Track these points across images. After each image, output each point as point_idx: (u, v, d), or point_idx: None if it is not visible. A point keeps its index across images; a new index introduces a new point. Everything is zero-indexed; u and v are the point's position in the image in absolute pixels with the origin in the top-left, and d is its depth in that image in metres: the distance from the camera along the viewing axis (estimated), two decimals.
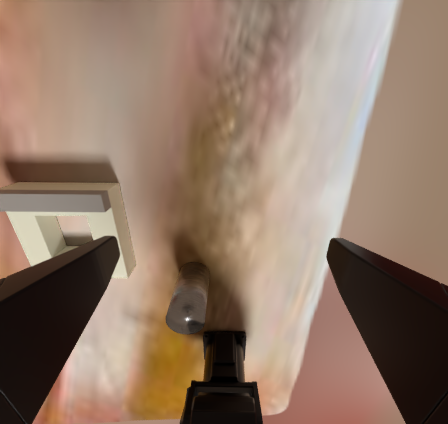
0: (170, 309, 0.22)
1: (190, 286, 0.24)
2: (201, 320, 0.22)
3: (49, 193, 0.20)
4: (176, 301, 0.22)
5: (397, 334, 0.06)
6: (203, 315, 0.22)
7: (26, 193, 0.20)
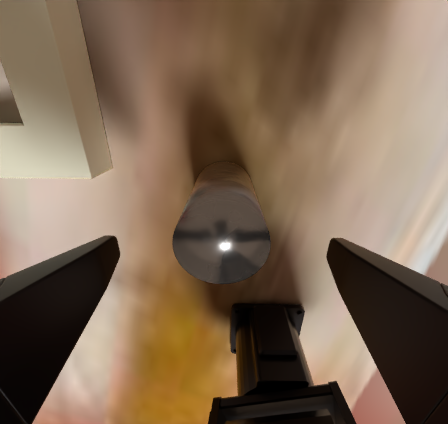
0: (185, 213, 0.08)
1: (227, 180, 0.11)
2: (263, 245, 0.09)
3: None
4: (198, 199, 0.09)
5: (397, 334, 0.06)
6: (268, 231, 0.09)
7: None
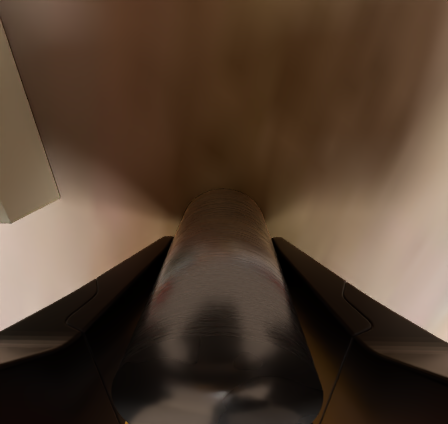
0: (135, 346, 0.04)
1: (229, 239, 0.06)
2: (306, 404, 0.04)
3: None
4: (168, 302, 0.04)
5: (305, 333, 0.06)
6: (317, 376, 0.04)
7: None
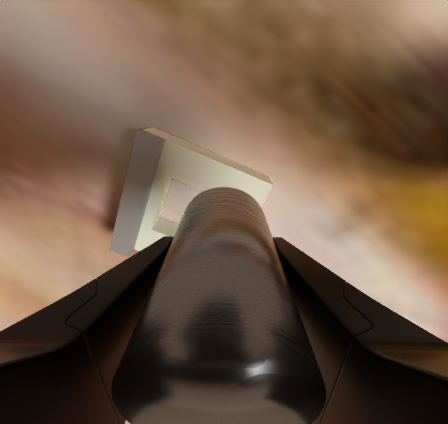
0: (135, 344, 0.04)
1: (230, 236, 0.06)
2: (308, 403, 0.04)
3: None
4: (169, 299, 0.04)
5: None
6: (320, 374, 0.04)
7: (117, 213, 0.18)
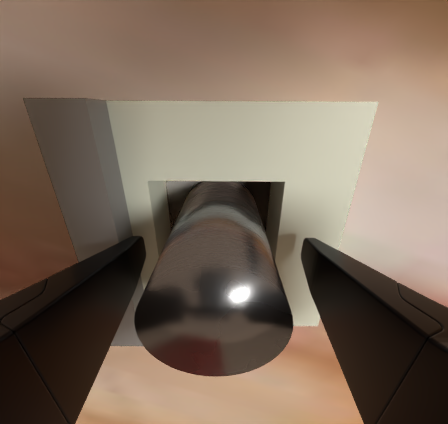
0: (153, 281, 0.05)
1: (223, 212, 0.07)
2: (281, 328, 0.05)
3: None
4: (177, 253, 0.06)
5: (355, 334, 0.06)
6: (289, 306, 0.05)
7: None
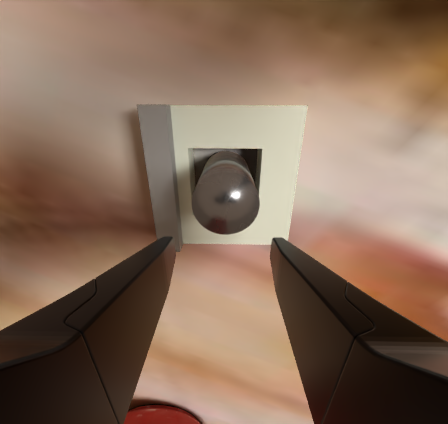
0: (200, 181, 0.12)
1: (229, 161, 0.14)
2: (254, 204, 0.13)
3: None
4: (209, 172, 0.13)
5: (307, 333, 0.06)
6: (257, 194, 0.13)
7: (152, 207, 0.17)
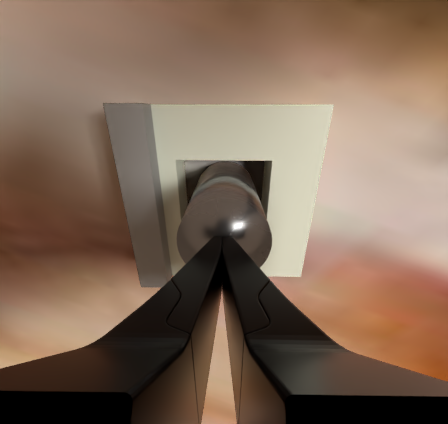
0: (188, 211, 0.09)
1: (229, 179, 0.11)
2: (265, 242, 0.09)
3: None
4: (201, 197, 0.09)
5: (231, 331, 0.06)
6: (269, 228, 0.09)
7: (131, 235, 0.13)
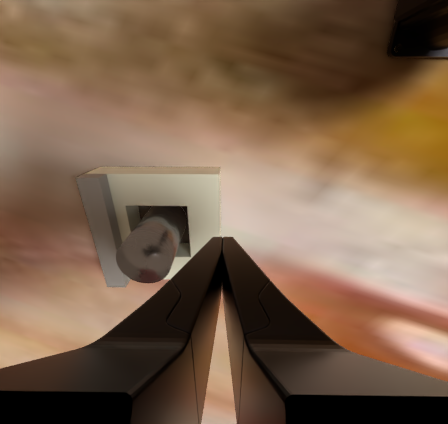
0: (121, 244, 0.15)
1: (154, 220, 0.18)
2: (166, 261, 0.16)
3: None
4: (130, 235, 0.16)
5: (231, 332, 0.06)
6: (169, 253, 0.16)
7: (98, 253, 0.20)
